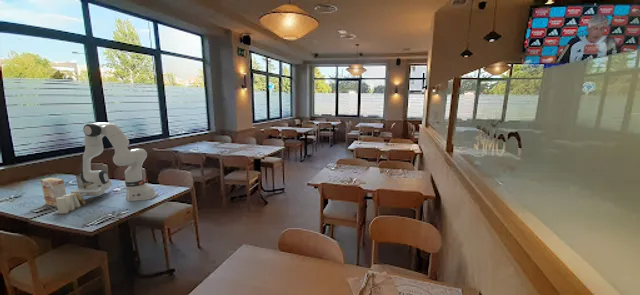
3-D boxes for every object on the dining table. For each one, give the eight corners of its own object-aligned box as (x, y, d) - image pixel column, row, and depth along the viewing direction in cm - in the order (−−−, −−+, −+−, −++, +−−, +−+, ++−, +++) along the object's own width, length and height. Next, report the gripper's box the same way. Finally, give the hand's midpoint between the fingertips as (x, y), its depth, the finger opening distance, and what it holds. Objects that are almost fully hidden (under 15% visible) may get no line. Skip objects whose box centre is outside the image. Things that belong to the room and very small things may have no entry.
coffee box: (89, 189, 233) (86, 172, 230) (95, 190, 232) (92, 172, 229) (78, 193, 225) (75, 175, 221) (84, 193, 223) (81, 175, 220)
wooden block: (85, 202, 201) (77, 192, 194) (84, 204, 200) (75, 194, 193) (79, 202, 201) (70, 192, 194) (77, 204, 199) (68, 195, 193)
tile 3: (74, 209, 192) (72, 194, 190) (72, 210, 190) (69, 195, 188) (67, 209, 192) (64, 194, 190) (65, 210, 190) (62, 195, 188)
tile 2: (80, 205, 197) (75, 193, 192) (78, 207, 195) (72, 194, 190) (73, 205, 196) (68, 193, 192) (71, 207, 195) (65, 194, 190)
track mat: (103, 197, 216) (103, 196, 215) (66, 215, 182) (66, 215, 182) (91, 197, 215) (91, 196, 215) (51, 216, 182) (51, 215, 182)
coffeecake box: (45, 204, 202) (40, 179, 198) (57, 200, 209) (52, 177, 205) (56, 207, 197) (51, 182, 193) (68, 203, 203) (63, 179, 200)
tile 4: (68, 212, 187) (65, 197, 185) (66, 213, 185) (63, 198, 183) (61, 212, 187) (58, 197, 185) (58, 213, 185) (55, 198, 183)
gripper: (79, 186, 210) (63, 192, 197) (105, 185, 211) (91, 192, 197) (80, 193, 212) (64, 200, 198) (106, 193, 212) (92, 200, 199)
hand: (78, 196), depth 198 cm, fingers closed
